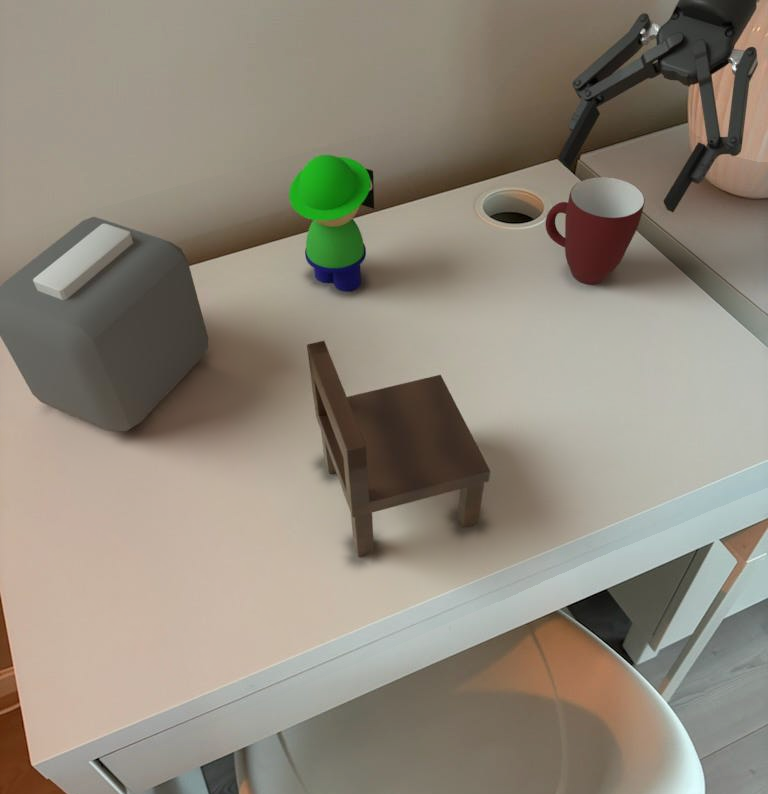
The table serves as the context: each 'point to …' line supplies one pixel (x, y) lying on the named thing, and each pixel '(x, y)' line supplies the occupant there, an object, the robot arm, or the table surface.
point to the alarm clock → (103, 323)
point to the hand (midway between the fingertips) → (614, 184)
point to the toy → (333, 216)
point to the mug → (597, 226)
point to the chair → (394, 446)
